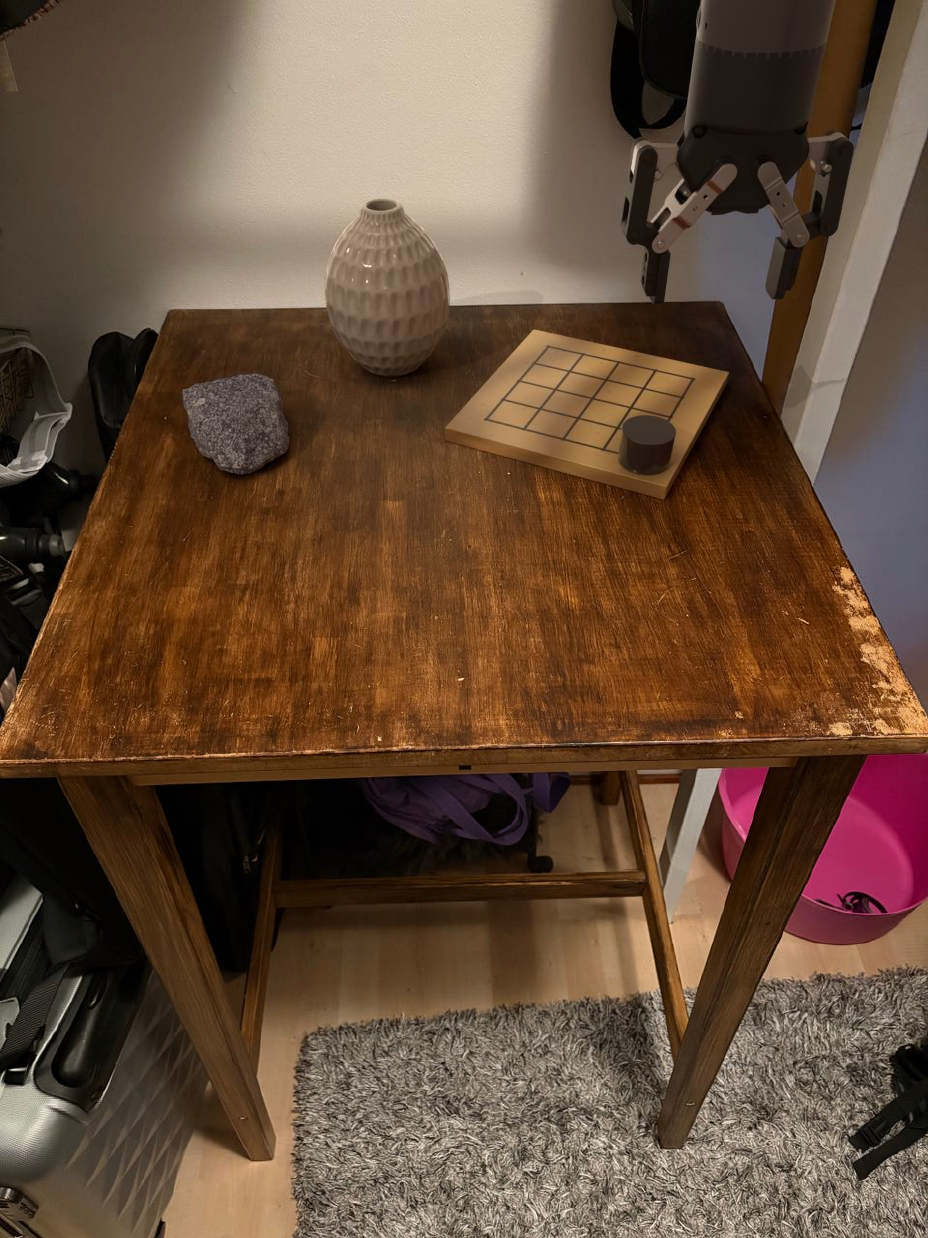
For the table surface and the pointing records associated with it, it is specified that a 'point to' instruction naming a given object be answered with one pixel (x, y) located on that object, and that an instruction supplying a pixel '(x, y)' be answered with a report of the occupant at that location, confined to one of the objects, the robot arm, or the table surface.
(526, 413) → the board
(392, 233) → the vase
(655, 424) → the dark grey puck
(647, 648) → the table surface
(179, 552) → the table surface
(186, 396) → the rock
